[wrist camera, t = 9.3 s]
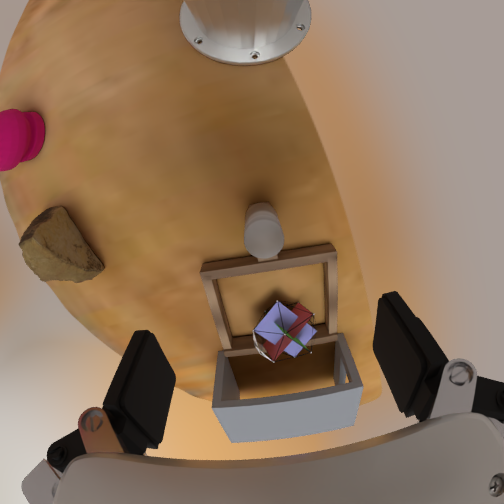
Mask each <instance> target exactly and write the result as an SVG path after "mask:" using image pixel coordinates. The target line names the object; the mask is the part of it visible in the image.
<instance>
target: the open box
mask: <svg viewBox="0 0 504 504" xmlns="http://www.w3.org/2000/svg"><path fill="white" fill-rule="evenodd" d="M346 374H347V377H348V380H349V383H345V379H346ZM333 379H334V382H335V386H332V387H327V388H322V389H317V390H311V391H305V392H299V393H293V394H286V395H279V396H271V397H263V398H253V399H242V400H240V391H239V389H238V386H237V383H236V380H235V377H234V374H233V372H232V369H231V366H230V363H229V360H228V357H225V355H224V352H223V351H218V358H217V366H216V374H215V383H214V392H213V401H212V409H213V411H214V413H215V415H216V417H217V418H218V420H219V422H220V424H221V426H222V427H223V429H224V431H225V432H226V434H227V436H228V438H229V439H230V441H231V442H232V443H236V442H237V443H238V442H255V441H266V440H275V439H284V438H292V437H299V436H305V435H311V434H316V433H322V432H327V431H332V430H336V429H341V428H345V427H349V426H353V425H354V422H355V419H356V415H357V411H358V407H359V403H360V399H361V395H362V390H363V384H362V381H361V378H360V376H359V373H358V370H357V368H356V365H355V362H354V360H353V357H352V355H351V352H350V349H349V347H348V344H347V342H346V339H345V337H344V334H343V333H339V334H338V339H337V341H336V342H335V363H334V378H333Z"/></svg>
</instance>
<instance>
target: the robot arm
mask: <svg viewBox="0 0 504 504" xmlns="http://www.w3.org/2000/svg"><path fill="white" fill-rule="evenodd" d="M179 15H180V26H181V29H182V32H183V34H184V36H185V37H186V39H187V41H188V42H189V43H190V44H191V46H192V47H194V48H195V49H196V50H197V51H198V52H199V53H201V54H203V55H204V56H206V57H208V58H210V59H212V60H215V61H218V62H221V63H226V64H231V65H245V66H247V65H258V64H263V63H267V62H271V61H274V60H276V59H278V58H281V57H283V56H285V55H286V54H288V53H289V52H291V51H293V50H294V49H295V48H296V47H297V46H298V45H299V44H300V43H301V41H302V40H303V39H304V37H305V36H306V34H307V32H308V30H309V27H310V23H311V8H310V5H309V2H308V0H184V1H183V3H182V5H181V9H180V14H179ZM297 28H300V29H301V30H302V31H300V30H298V29H297ZM200 41H202V43H201V44H198V42H200ZM254 55H255V56H257V57H258V58H257V59H253V58H252V56H254ZM373 351H374V354H375V356H376V358H377V360H378V362H379V365H380V367H381V369H382V371H383V373H384V375H385V378H386V380H387V383H388V385H389V387H390V389H391V392H392V394H393V396H394V399H395V401H396V403H397V406H398V408H399V411H400V412H401V413H402V412H404V414H405V416H406V418H407V417H410V416H412V415H415V416H416V418H417V419H418V422H417V424H414V425H411V426H408V427H406V428H403V429H400V430H397V431H394V432H391V433H388V434H385V435H381V436H378V437H375V438H371V439H368V440H365V441H361V442H357V443H353V444H349V445H345V446H341V447H336V448H332V449H327V450H322V451H317V452H311V453H305V454H299V455H291V456H285V457H274V458H265V459H250V460H186V459H170V458H161V457H151V456H147V454H146V453H145V452H146V448H152V449H158V445H159V443H161V442H162V440H163V435H164V430H165V426H166V421H167V416H168V412H169V408H170V403H171V398H172V394H173V390H174V386H175V382H176V376H175V373H174V371H173V369H172V367H171V366H170V364H169V362H168V360H167V358H166V357H165V355H164V353H163V351H162V349H161V347H160V345H159V343H158V341H157V339H156V337H155V335H154V334H153V333H150V331H149V330H138V331H135V332H134V334H133V336H132V338H131V340H130V342H129V344H128V346H127V349H126V351H125V353H124V355H123V357H122V360H121V362H120V364H119V366H118V369H117V371H116V373H115V375H114V378H113V380H112V382H111V385H110V387H109V389H108V392H107V395H106V397H105V399H104V402H103V408H102V409H101V408H99V407H91V408H89V409H87V410H85V411H84V412H83V413H82V414H81V416H80V418H79V421H78V429H77V430H75V431H73V432H72V433H70V434H68V435H66V436H65V437H63V438H61V439H59V440H58V441H56V442H54V443H53V444H51V446H50V447H49V449H48V451H47V460H45V459H43V460H42V461H41V462H40V463H39V464H38V465H37V466H36V467H35V468H34V469H33V470H32V471H31V472H30V473H29V474H28V475H27V476H26V477H25V478H24V480H23V481H22V491H23V494H24V495H25V497H26V499H27V500H28V502H29V503H30V504H504V383H503V382H499V381H495V380H491V379H487V378H484V377H479V376H477V371H476V369H475V367H474V365H473V364H472V363H471V362H469V361H467V360H465V359H453V360H451V361H449V360H448V359H447V357H446V356H445V354H444V353H443V351H442V350H441V348H440V347H439V345H438V344H437V342H436V341H435V339H434V338H433V336H432V335H431V334H430V332H429V331H428V329H427V328H426V326H425V325H424V324H423V322H422V321H421V320H420V319H419V318H418V317H415V315H414V314H413V312H412V311H411V310H410V308H409V307H408V306H407V304H406V303H405V302H404V300H403V299H402V298H401V296H400V295H399V294H398V292H396V291H393V292H389V293H385V294H383V295H382V298H379V300H378V308H377V317H376V325H375V333H374V340H373Z"/></svg>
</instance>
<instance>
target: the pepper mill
mask: <svg viewBox="0 0 504 504" xmlns="http://www.w3.org/2000/svg"><path fill="white" fill-rule="evenodd" d="M44 137H45V126H44V122H43V119H42V117H41V116H40V115H39V114H38V113H36V112H23V113H22V112H21V111H19V110H17V109H9V110H4V111H2V112H0V171H6V170H10V169H13V168H14V167H16V166H17V165H18V164H19V163H20V162H24V161H28V160H31V159H33V158H34V157H36V156H37V154H38V153H39V151H40V150H41V148H42V145H43V142H44Z"/></svg>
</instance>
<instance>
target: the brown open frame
mask: <svg viewBox="0 0 504 504" xmlns="http://www.w3.org/2000/svg"><path fill="white" fill-rule="evenodd" d="M244 244H245V247H246V249H247V251H248V252H249V253H250V254H251V255H253V256H249V257H243V258H236V259H230V260H223V261H217V262H210V263H204V264H202V267H201V270H200V275H201V279H202V282H203V285H204V289H205V292H206V295H207V299H208V302H209V305H210V309H211V312H212V315H213V318H214V321H215V325H216V328H217V331H218V334H219V337H220V340H221V343H222V346H223V349H224V351H223V352H224V355H225V357H231V356H241V355H250V354H258V353H259V351H260V350H259V351H258V350H257V349H256V347H257V345H256V343H255V345H256V346H255V345H254V341H253V335H252V336H244V337H236V338H232V335H231V332H230V328H229V325H228V321H227V318H226V314H225V310H224V307H223V303H222V300H221V296H220V292H219V289H218V285H217V281H216V279H220V278H227V277H234V276H240V275H247V274H254V273H260V272H267V271H273V270H280V269H286V268H293V267H299V266H305V265H311V264H317V263H323V262H324V281H325V324H322V325H317V326H311V327H312V328H314V327H315V328H314V329H316V328H317V329H316V330H317V333H315V334H314V335H313V337H312V338H311V339H310V340H309V341H308V343H307V344H306V345H305V346H311V344H312V345H317V344H322V343H327V342H332V341H337V339H338V334H337V301H338V286H337V251H336V249H335V248H334V247H333V245H332V244H326V245H320V246H313V247H307V248H301V249H294V250H288V251H282V252H280V250H281V249H282V247H283V245H284V235H283V231H282V228H281V225H280V222H279V219H278V216H277V213H276V211H275V209H274V208H273V207H272V206H271V205H270V203H269V202H265V203H256V204H253V205H249V209H248V210H247V212H246V215H245V232H244ZM315 336H316V337H315ZM255 338H256V341H257V342H258V343H260V344H261V345H263V344H264V343H265V342H266V341H267V339H265V338H263V337H262V336H261V335H257V336H256V335H255ZM258 338H259V339H258ZM260 341H261V342H260ZM313 343H314V344H313ZM257 348H258V347H257ZM258 349H259V348H258ZM263 351H264V353H266V352H267V351H266V350H265V348H264V347H263ZM260 352H261V351H260Z"/></svg>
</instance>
